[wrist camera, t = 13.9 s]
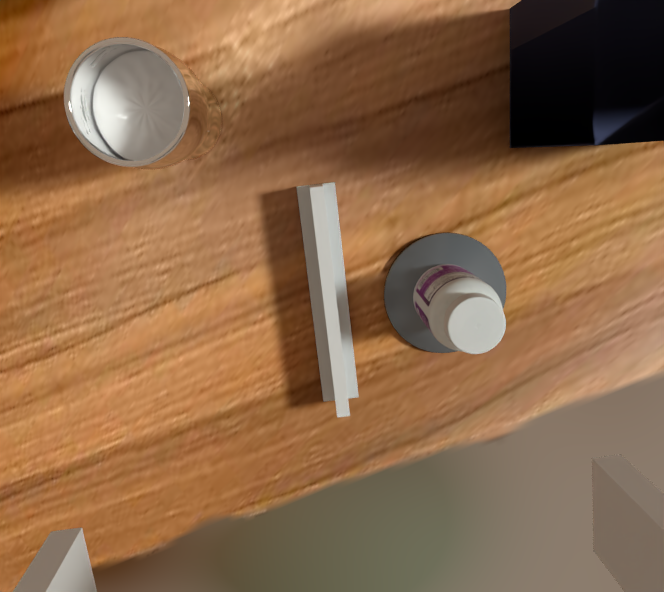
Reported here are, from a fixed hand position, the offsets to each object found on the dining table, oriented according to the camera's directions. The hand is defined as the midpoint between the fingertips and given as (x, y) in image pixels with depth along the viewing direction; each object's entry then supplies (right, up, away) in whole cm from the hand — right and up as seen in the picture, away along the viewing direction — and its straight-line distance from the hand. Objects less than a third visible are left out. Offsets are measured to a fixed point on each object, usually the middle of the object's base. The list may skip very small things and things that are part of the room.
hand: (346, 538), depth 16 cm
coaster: (+9, +6, +35) cm, 37 cm away
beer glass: (-12, +20, +31) cm, 39 cm away
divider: (-1, +6, +35) cm, 35 cm away
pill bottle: (+9, +6, +35) cm, 36 cm away
